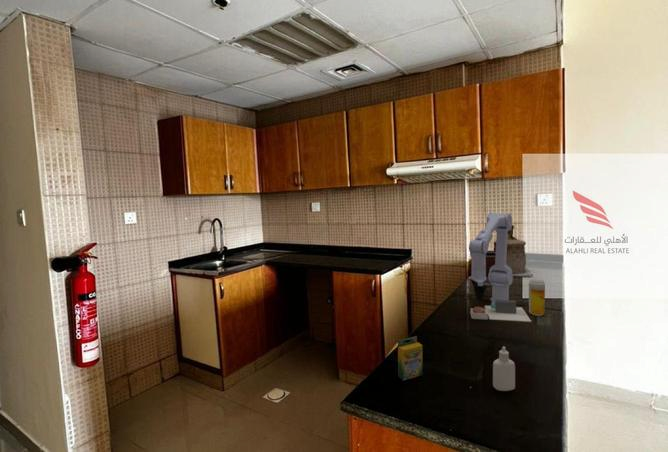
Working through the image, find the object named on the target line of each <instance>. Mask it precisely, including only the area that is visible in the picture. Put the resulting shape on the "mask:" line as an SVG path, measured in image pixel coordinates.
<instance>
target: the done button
mask: <svg viewBox="0 0 668 452" xmlns="http://www.w3.org/2000/svg"><path fill="white" fill-rule="evenodd" d="M483 309H484V307H482V306H475V307H474V313H484V311H483Z"/></svg>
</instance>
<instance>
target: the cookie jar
mask: <svg viewBox="0 0 668 452" xmlns="http://www.w3.org/2000/svg"><path fill="white" fill-rule="evenodd" d="M514 229H515V225H514V224H512V228H511V230H510V231H508V236H507V258H506V265H507V266H508V267H509V268H511V269H512V275H513V277H522V278H523V277H524V278H533V275H534V274H533V273H532V272H531V271H530V270H529V269H528V267H526V264H527V258H526V257H527V256H526V251H525V249H526V247H525V246H526V241H525V240H520V239H518V238H517V237H516V236H513V235H514ZM493 253H496V240H494V241H493ZM502 272H505V271H502Z"/></svg>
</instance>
